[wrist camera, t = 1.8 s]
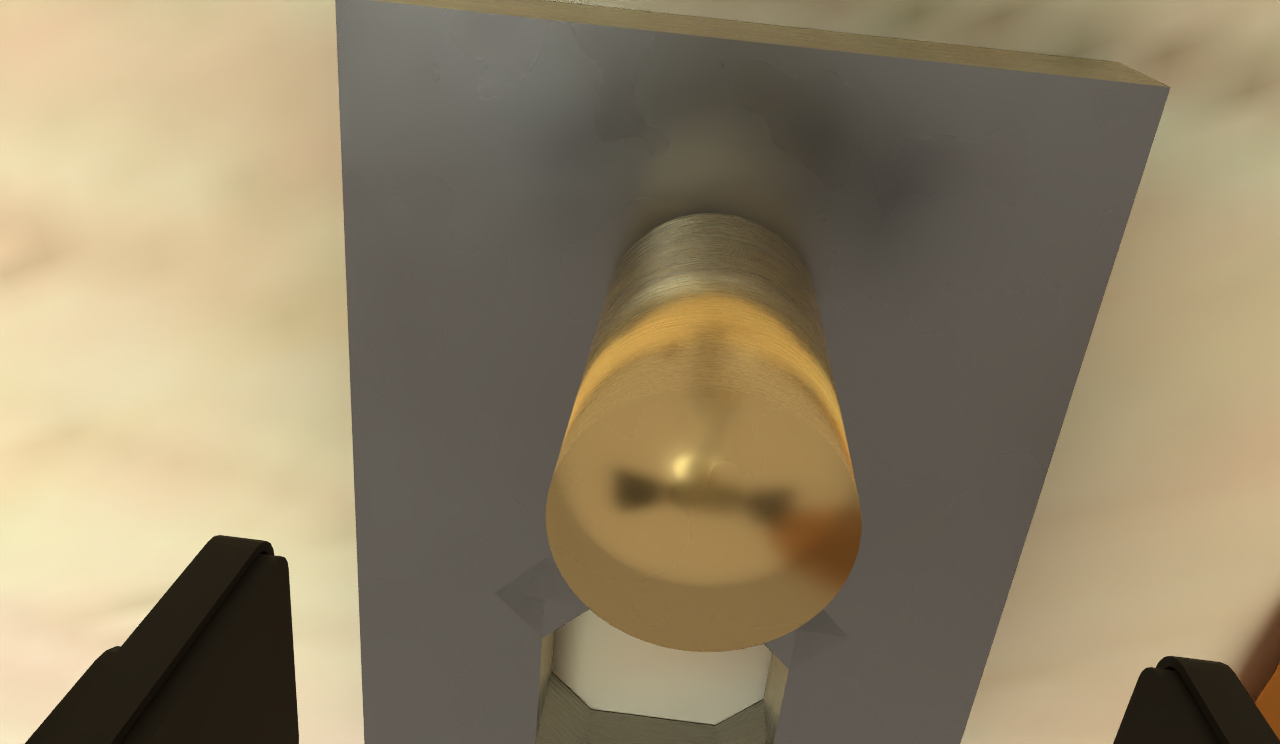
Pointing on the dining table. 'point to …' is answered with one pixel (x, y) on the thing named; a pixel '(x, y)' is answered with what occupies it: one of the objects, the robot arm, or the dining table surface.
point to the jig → (577, 287)
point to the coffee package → (1271, 702)
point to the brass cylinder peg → (706, 446)
